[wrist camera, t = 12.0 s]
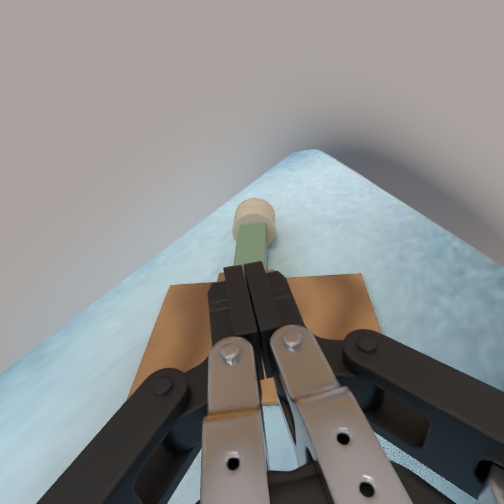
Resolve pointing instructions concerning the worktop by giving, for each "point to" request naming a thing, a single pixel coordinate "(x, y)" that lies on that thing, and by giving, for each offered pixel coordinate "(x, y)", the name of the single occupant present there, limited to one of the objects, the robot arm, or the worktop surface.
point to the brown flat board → (199, 345)
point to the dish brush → (252, 232)
